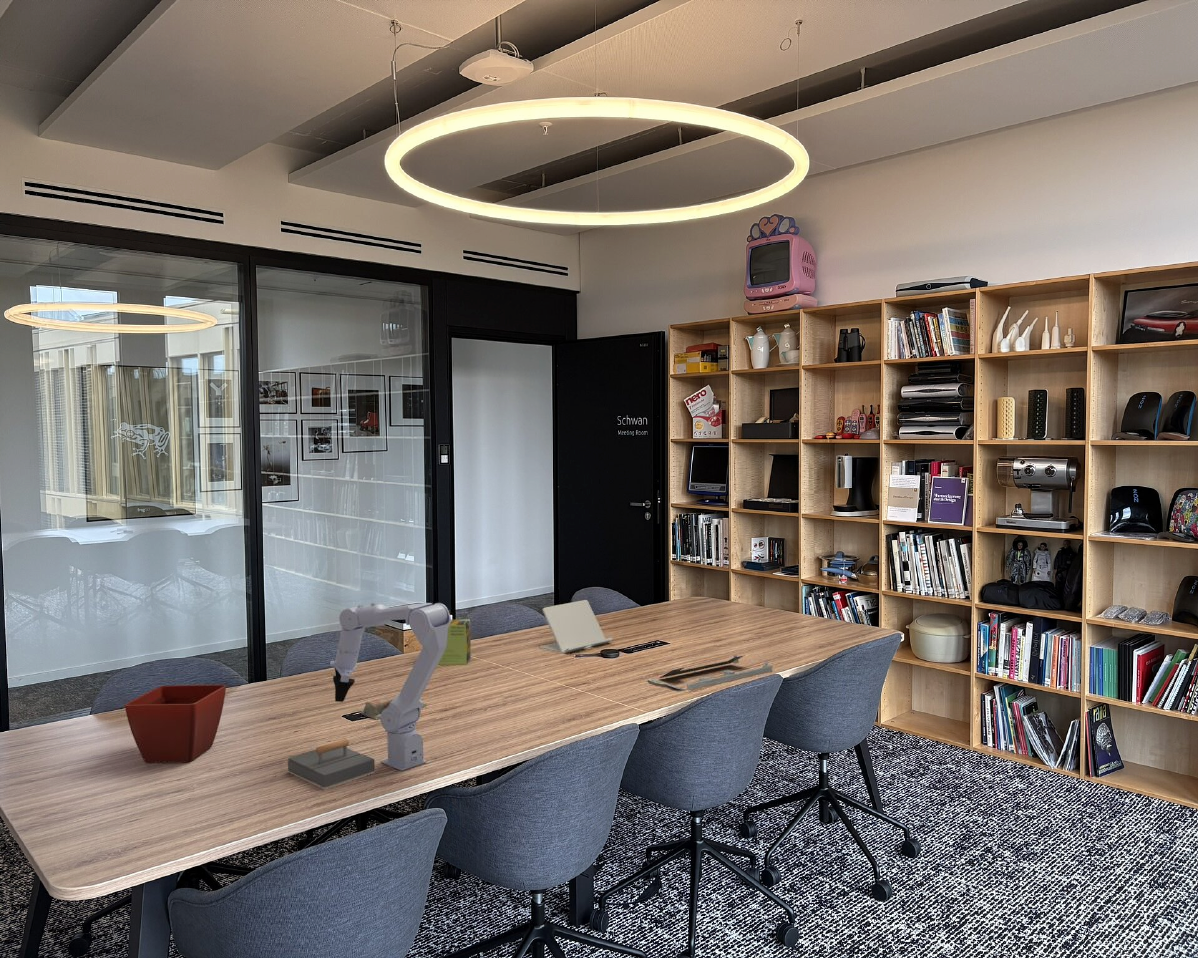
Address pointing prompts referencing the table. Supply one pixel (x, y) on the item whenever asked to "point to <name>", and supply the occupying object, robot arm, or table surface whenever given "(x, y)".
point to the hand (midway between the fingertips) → (339, 694)
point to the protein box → (457, 644)
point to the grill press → (324, 755)
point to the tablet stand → (573, 627)
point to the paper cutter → (726, 677)
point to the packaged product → (379, 707)
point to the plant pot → (176, 721)
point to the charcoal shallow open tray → (335, 771)
